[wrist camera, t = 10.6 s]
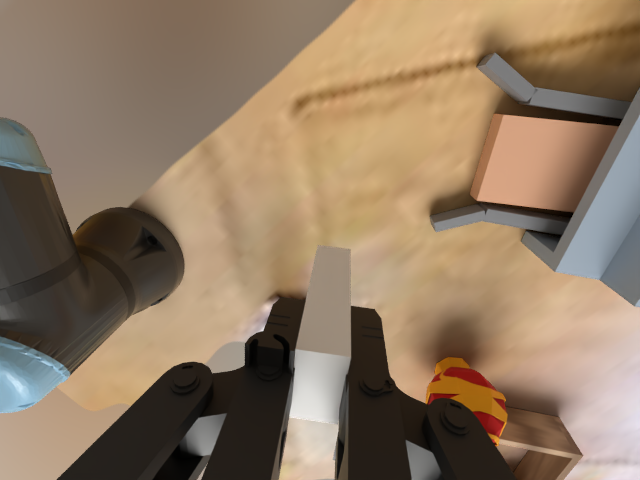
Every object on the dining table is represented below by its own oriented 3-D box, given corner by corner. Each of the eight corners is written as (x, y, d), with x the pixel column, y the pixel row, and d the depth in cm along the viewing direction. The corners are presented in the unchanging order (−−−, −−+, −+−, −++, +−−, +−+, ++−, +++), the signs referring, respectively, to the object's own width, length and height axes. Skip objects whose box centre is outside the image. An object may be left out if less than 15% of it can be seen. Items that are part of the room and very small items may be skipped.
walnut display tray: (439, 462, 58) (447, 499, 53) (471, 399, 51) (484, 435, 45) (515, 478, 57) (532, 517, 52) (558, 417, 50) (583, 455, 45)
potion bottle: (501, 359, 47) (560, 466, 33) (461, 401, 51) (498, 511, 38) (439, 333, 46) (473, 431, 33) (404, 377, 50) (420, 480, 37)
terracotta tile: (468, 193, 38) (476, 200, 35) (492, 113, 34) (503, 114, 31) (571, 205, 37) (588, 214, 34) (608, 125, 33) (630, 127, 31)
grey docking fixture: (426, 225, 40) (452, 273, 29) (480, 52, 32) (544, 28, 21) (573, 251, 39) (657, 310, 28) (667, 80, 31) (836, 71, 20)
